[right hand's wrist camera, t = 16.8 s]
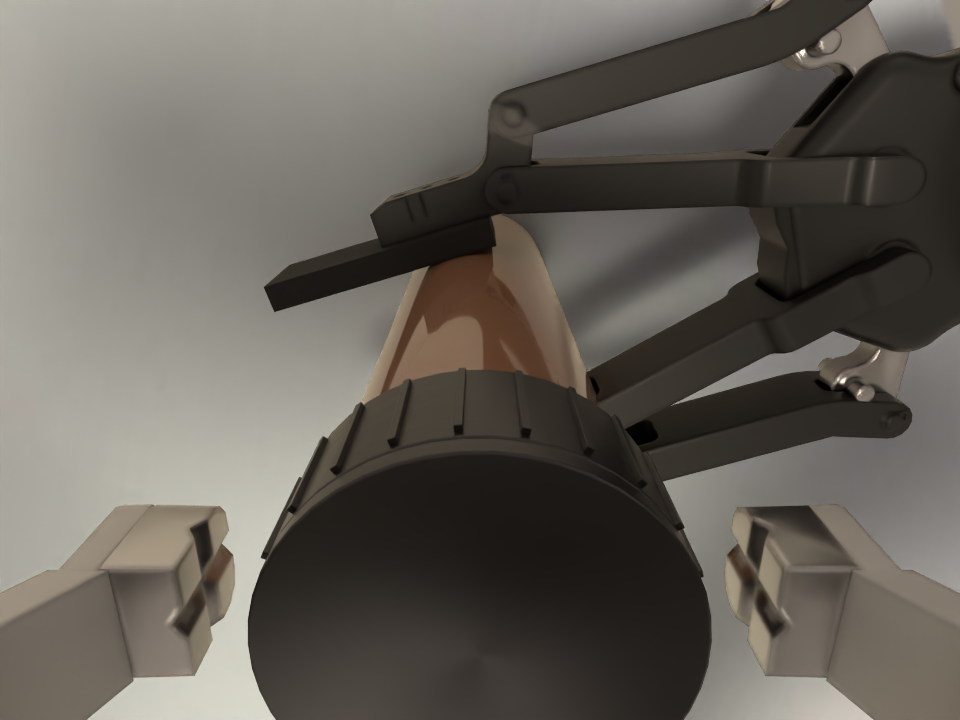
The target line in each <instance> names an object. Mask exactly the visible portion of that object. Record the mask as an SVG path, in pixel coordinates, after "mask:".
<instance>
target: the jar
mask: <svg viewBox="0 0 960 720" xmlns="http://www.w3.org/2000/svg"><path fill="white" fill-rule="evenodd" d="M491 218H492V222H493V225H494V228H495V237H496V245H497V246H496V247H492V248H489V249H486V250H482V251H479V252H475V253H472V254H469V255H465V256H462V257H459V258H454V259H452V260H448V261H445V262H442V263H438V264H435V265H431V266H428V267H425V268H421V269H418V270H415V271H413V274H412V276H411V279H410V281H409V284H408V286H407V289H406V291H405V294H404V296H403V299H402V301H401V304H400V306H399V309H398V311H397V314H396V316H395V319H394V321H393V324H392V326H391V329H390V331H389V334H388V336H387V339H386V341H385V344H384V346H383V349H382V351H381V354H380V356H379V359H378V361H377V364H376V366H375V369H374V371H373V374H372V376H371V379H370V381H369V384H368V386H367V389H366V391H365V394H364V396H363V399H362V401H361V402H362V403H363V405H364V404H365V403H367V402H368V401H370V400H372V399H373V398H375V397H377V396H379V395H381V394H382V393H384V392H386V391H388V390H390V389H392V388H394V387H397V386H399V385H402V383H403V381H404V380H406V379H409V378H410V379H411V381H412V380H415V379H419V378H423V377H426V376H430V375H434V374H438V373H445V372H453V371H458V368H466V370H498V371H507V372H515V370H519V371H523V374H525V375H529V376H533V377H537V378H541V379H545V380H547V381H550V382H553V383H555V384H558V385H560V386H563V387H566V388H568V387H569V386H571V387H573V388H575V389H576V392H577V394H579V395H581V396H583V397H585V398H587V399H588V400H590V401H591V402H593V403H594V404H595V405H597V406H598V407H600V408H601V406H600V403H599V401H598V398H597V396H596V393H595V390H594V388H593V385H592V383H591V380H590V378H589V375H588V373H587V370H586V368H585V365H584V363H583V360H582V358H581V355H580V353H579V350H578V347H577V345H576V342H575V340H574V337H573V335H572V332H571V330H570V327H569V325H568V322H567V320H566V317H565V315H564V312H563V309H562V307H561V304H560V302H559V299H558V297H557V294H556V292H555V289H554V287H553V284H552V282H551V279H550V277H549V274H548V272H547V269H546V266H545V264H544V261H543V259H542V256H541V254H540V251H539V249H538V247H537V245H536V243H535V241H534V240H533V238H532V237H531V235H530V234H529V233H528V232H527V231H526V230H525V229H524V228H523V227H522V226H521V225H520V224H518V223H517V222H515V221H514V220H512V219H510V218H508V217H506V216H504V215H501V214H498V215H495V216H492V217H491ZM601 409H602V408H601Z"/></svg>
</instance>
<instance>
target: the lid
mask: <svg viewBox="0 0 960 720" xmlns="http://www.w3.org/2000/svg"><path fill="white" fill-rule="evenodd" d="M683 528H684V525H683V523H682V521H681V519H680V517H679V515H678V513H677V511H676V508H675V506H674V504H673V502H672V500H671V498H670V496H669V494H668V492H667V490H666V488H665V486H664V483H663V481H662V479H661V477H660V475H659V473H658V471H657V469H656V467H655V465H654V463H653V461H652V458H651V456H650V455H649V453H648V452H647V451H646V452H644V453H642V452H641V450H640V448H639V447H638V445H637V444H636V443H635V442H634V440H633V439H632V438H631V437H630V435H629V434H628V433H627V431H626V430H625V429H624V428H623V426H622V424H621V421H620V419H619V417H617V416H616V415H615V414H614V415H612V416H610V415H609V414H608V413H607V412H605V411H604V410H602V409H601V408H600V407H598V406H597V405H595V404H594V403H593V402H591V401H590V400H588V399H587V398H585V397H583V396H581V395H579V394H577V392H576V389H575V388H573V387H571V386H569V387H568V388H566V387H563V386H560V385H558V384H555V383H553V382H550V381H547V380H545V379H541V378H537V377H533V376H529V375H525V374H523V371H519V370H515V372H507V371H498V370H466V368H458V371H453V372H445V373H438V374H434V375H430V376H426V377H423V378H419V379H415V380H412V381H411V379H410V378H409V379H406V380H404V381H403V383H402V385H399V386H397V387H394V388H392V389H390V390H388V391H386V392H384V393H382V394H381V395H379V396H377V397H375V398H373V399H372V400H370V401H368V402H367V403H365V404H364V405H363V403H362V402H360V403H359V404H358V405H356V406H355V409H354V411H353V413H352V414H351V415H349V416H348V417H347V418H346V419H345V420H344V421H343V422H342V423H341V424H340V425H339V426H338V427H337V428H336V429H335V430H334V431H333V432H332V433H331V435H330V436H329V437H328V439H327V438H325V437H324V436H323V437H322V438H321V440H320V441H319V443H318V445H317V447H316V449H315V451H314V453H313V456H312V458H311V460H310V462H309V464H308V466H307V468H306V470H305V472H304V474H303V477H302V478H301V477H299V478H298V480H297V483H296V485H295V487H294V489H293V491H292V493H291V495H290V497H289V499H288V501H287V503H286V505H285V507H284V509H283V511H282V513H281V515H280V518H279V520H278V522H277V524H276V526H275V528H274V530H273V532H272V534H271V536H270V538H269V540H268V542H267V544H266V546H265V548H264V550H263V553H262V556H261V558H262V559H265V560H266V561H265V563H264V565H263V567H262V569H261V571H260V574H259V577H258V580H257V583H256V586H255V588H254V591H253V594H252V599H251V605H250V611H249V616H248V647H249V653H250V659H251V665H252V670H253V673H254V676H255V679H256V682H257V684H258V687H259V690H260V693H261V694H262V696H263V698H264V700H265V702H266V704H267V706H268V708H269V710H270V712H271V713H272V715H273V716H274V718H275V719H276V720H684V718H685V717H686V716H687V714H688V713H689V711H690V710H691V708H692V706H693V704H694V702H695V700H696V698H697V696H698V693H699V691H700V689H701V687H702V684H703V680H704V677H705V674H706V671H707V668H708V663H709V656H710V649H711V642H712V633H711V613H710V608H709V603H708V598H707V593H706V590H705V587H704V585H703V582H702V579H701V577H703V571H702V569H701V567H700V565H699V563H698V560H697V558H696V556H695V554H694V552H693V550H692V548H691V546H690V544H689V541H688V539H687V537H686V535H685V533H684V531H683Z"/></svg>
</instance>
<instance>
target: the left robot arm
mask: <svg viewBox="0 0 960 720" xmlns="http://www.w3.org/2000/svg"><path fill="white" fill-rule="evenodd" d="M871 1H872V0H769V1H768V2H766V3H765V4H764V5H762V6H761V7H760V8H758V9H757V10H755V11H754V12H753V13H751V14H750V15H749V16H747V17H746V18H744V19H741V20H737V21H734V22H731V23H727V24H724V25H721V26H718V27H714V28H711V29H708V30H704V31H701V32H698V33H694V34H691V35H688V36H685V37H681V38H678V39H675V40H671V41H668V42H665V43H661V44H658V45H655V46H652V47H648V48H645V49H642V50H638V51H635V52H632V53H628V54H625V55H622V56H619V57H615V58H612V59H609V60H605V61H602V62H599V63H595V64H592V65H589V66H586V67H582V68H579V69H576V70H572V71H569V72H566V73H562V74H559V75H556V76H553V77H549V78H546V79H543V80H539V81H536V82H533V83H530V84H526V85H523V86H520V87H516V88H513V89H510V90H506V91H504V92H502V93H500V94H498V95H497V96H496V97H495V98H494V99H493V100H492V102H491V104H490V107H489V110H488V127H487V144H486V151H485V155H484V157H483V160H482V161H481V162H480V164H479V165H478V166H477V167H476V168H474V169H473V170H471V171H469V172H467V173H464V174H460V175H457V176H454V177H451V178H447V179H444V180H441V181H438V182H435V183H431V184H428V185H425V186H422V187H418V188H415V189H412V190H409V191H405V192H402V193H399V194H396V195H392V196H390V197H389V198H388V199H387V200H386V201H384V202H383V203H382V204H381V205H380V206H379V207H377V208H376V209H375V210H374V211H373V212H372V213H371V215H370V216H371V219H372V222H373V225H374V227H375V230H376V233H377V236H378V238H377V239H374V240H371V241H367V242H364V243H361V244H357V245H354V246H351V247H348V248H344V249H341V250H338V251H334V252H331V253H328V254H324V255H321V256H318V257H314V258H311V259H308V260H305V261H301V262H298V263H295V264H291V265H289V266H288V267H287V268H286V269H284V270H283V271H282V272H281V273H280V274H279V275H277V276H276V277H275V278H274V279H273V280H272V281H270V282H269V283H268V284H267V285H266V286H265V287H264V289H265V291H266V293H267V296H268V298H269V300H270V303H271V305H272V307H273V310H274V312H276V311H279V310H283V309H286V308H289V307H293V306H296V305H300V304H303V303H306V302H310V301H313V300H317V299H320V298H323V297H327V296H330V295H333V294H337V293H340V292H344V291H347V290H350V289H354V288H357V287H360V286H364V285H367V284H371V283H374V282H377V281H381V280H384V279H388V278H391V277H394V276H398V275H401V274H404V273H408V272H411V271H415V270H418V269H421V268H425V267H428V266H431V265H435V264H438V263H442V262H445V261H448V260H452V259H454V258H459V257H462V256H465V255H469V254H472V253H475V252H479V251H482V250H486V249H489V248H492V247H496V246H497V245H496V237H495V228H494V225H493V222H492V218H491V217H492V216H495V215H498V214H502V213H504V214H523V213H551V212H578V211H606V210H634V209H661V208H689V207H716V206H744V207H749V213H750V215H751V218H752V220H753V222H754V224H755V226H756V228H757V230H758V233H759V235H760V244H759V252H758V260H757V265H758V272H757V273H756V274H754V275H752V276H750V277H748V278H746V279H745V280H743V281H741V282H739V283H737V284H736V285H734V286H733V287H732V288H731V289H730V290H729V292H728V294H727V295H726V296H725V297H724V298H722V299H721V300H719V301H717V302H715V303H713V304H712V305H710V306H708V307H706V308H704V309H702V310H701V311H699V312H697V313H695V314H693V315H691V316H690V317H688V318H686V319H684V320H682V321H680V322H678V323H677V324H675V325H673V326H671V327H669V328H667V329H666V330H664V331H662V332H660V333H658V334H656V335H655V336H653V337H651V338H649V339H647V340H645V341H644V342H642V343H640V344H638V345H636V346H634V347H632V348H631V349H629V350H627V351H625V352H623V353H621V354H620V355H618V356H616V357H614V358H612V359H610V360H609V361H607V362H605V363H603V364H601V365H599V366H598V367H596V368H594V369H592V370H590V371H588V372H587V373H588V375H589V378H590V380H591V383H592V385H593V388H594V390H595V393H596V396H597V398H598V401H599V403H600V406H601V408H602V410H604V411H605V412H607V413H608V414H609V415H610V416H612V415H614V414H615V415H616V416H617V417H619V419H620V421H621V424H622V426H623V428H624V429H625V430H626V431H627V433H628V434H629V435H630V437H631V438H632V439H633V440H634V442H635V443H636V444H637V445H638V447H639V448H640V450H641V452H642V453H644V452H646V451H647V452H648V453H649V455H650V456H651V458H652V461H653V463H654V465H655V467H656V469H657V471H658V473H659V475H660V477H661V479H662V481H666V480H670V479H674V478H677V477H681V476H685V475H689V474H692V473H696V472H700V471H704V470H708V469H711V468H715V467H719V466H723V465H726V464H730V463H734V462H738V461H741V460H745V459H749V458H753V457H757V456H760V455H764V454H768V453H772V452H775V451H779V450H783V449H787V448H790V447H794V446H798V445H802V444H805V443H809V442H813V441H817V440H821V439H824V438H828V437H832V436H838V437H863V438H894V437H896V436H899V435H901V434H902V433H903V432H905V431H906V430H907V429H908V427H909V425H910V424H911V422H912V413H911V411H910V408H908V407H907V406H906V405H905V404H903V403H902V402H900V401H899V400H898V399H896V398H897V393H898V390H899V386H900V383H901V380H902V376H903V373H904V369H905V366H906V362H907V359H908V356H909V352H910V351H914V350H918V349H920V348H923V347H925V346H927V345H928V344H930V343H932V342H933V341H934V340H935V339H937V338H938V337H939V336H940V335H942V334H943V333H945V332H946V331H947V330H949V329H951V328H952V327H954V326H956V325H958V324H960V48H957V49H954V50H951V51H947V52H944V53H941V54H937V55H934V56H924V55H920V54H916V53H913V52H908V51H893V52H890V51H889V49H888V47H887V45H886V43H885V41H884V38H883V36H882V34H881V32H880V30H879V27H878V25H877V23H876V21H875V19H874V16H873V14H872V12H871V10H870V8H869V6H868V4H869V3H870V2H871ZM777 61H781V62H782V64H783V65H784V66H785V67H787V68H788V69H790V70H794V71H800V70H811V69H818V68H821V67H823V66H827V67H829V68H830V69H832V70H833V71H834V73H835V74H836V75H837V76H836V77H835V78H834V79H833V80H832V81H831V82H830V84H829V85H828V86H827V87H826V88H825V89H824V90H823V91H822V93H821V94H820V95H819V96H818V97H817V98H816V99H815V101H814V102H813V103H812V104H811V105H810V106H809V107H808V109H807V110H806V111H805V112H804V113H803V114H802V115H801V117H800V118H799V119H798V120H797V121H796V122H795V123H794V124H793V126H792V127H791V128H790V129H789V130H788V131H787V132H786V134H785V135H784V136H783V137H782V138H781V139H780V140H779V142H778V143H777V144H776V145H775V146H774V147H773V148H772V149H760V150H733V151H717V152H712V153H689V154H662V155H635V156H609V157H582V158H555V159H531V154H532V142H533V134H536V133H539V132H543V131H546V130H549V129H553V128H556V127H560V126H563V125H566V124H570V123H573V122H577V121H580V120H583V119H587V118H590V117H594V116H597V115H600V114H604V113H607V112H610V111H614V110H617V109H621V108H624V107H627V106H631V105H634V104H638V103H641V102H644V101H648V100H651V99H654V98H658V97H661V96H665V95H668V94H671V93H675V92H678V91H682V90H685V89H688V88H692V87H695V86H698V85H702V84H705V83H709V82H712V81H715V80H719V79H722V78H726V77H729V76H732V75H736V74H739V73H742V72H746V71H749V70H753V69H756V68H759V67H763V66H766V65H769V64H772V63H774V62H777ZM832 331H835V332H837V333H840V334H843V335H846V336H849V337H851V338H854V339H857V340H860V341H861V343H860V345H859V346H858V348H857V349H856V350H855V351H853V352H852V353H850V354H848V355H846V356H842V357H837V358H826V359H823V360H822V361H821V362H820V364H819V371H804V372H796V373H789V374H785V375H781V376H776V377H773V378H769V379H766V380H762V381H758V382H755V383H751V384H748V385H744V386H740V387H737V388H733V389H730V390H726V391H722V392H719V393H715V394H712V395H708V396H704V397H701V398H697V399H694V400H690V401H686V402H683V403H679V404H676V405H672V404H674V403H676V402H678V401H680V400H682V399H684V398H686V397H688V396H690V395H692V394H694V393H696V392H697V391H699V390H701V389H703V388H705V387H707V386H709V385H711V384H713V383H715V382H717V381H719V380H721V379H722V378H724V377H726V376H728V375H730V374H732V373H734V372H736V371H738V370H740V369H742V368H744V367H746V366H748V365H749V364H751V363H753V362H755V361H757V360H759V359H761V358H763V357H765V356H767V355H769V354H773V353H788V352H792V351H795V350H797V349H799V348H801V347H803V346H805V345H807V344H809V343H811V342H813V341H815V340H817V339H819V338H821V337H823V336H825V335H826V334H828V333H830V332H832ZM670 405H672V406H670Z"/></svg>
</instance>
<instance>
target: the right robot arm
mask: <svg viewBox="0 0 960 720" xmlns="http://www.w3.org/2000/svg"><path fill="white" fill-rule="evenodd" d="M228 531H229V528H228V523H227V518H226V513H225V511H224V510H223V509H222V508H221V507H220V506H187V505H122V506H118V507H116V508H115V509H114V510H113V511H112V512H111V513H110V514H109V515H108V517H107V518H106V519H105V520H104V521H103V522H102V523H101V524H100V525H99V526H98V527H97V529H96V530H95V531H94V532H93V533H92V534H91V535H90V536H89V537H88V538H87V540H86V541H85V542H84V543H83V544H82V545H81V546H80V547H79V548H78V549H77V551H76V552H75V553H74V554H73V555H72V556H71V557H70V558H69V559H68V560H67V561H66V563H65V564H64V565H63V566H62V567H61V568H60V569H59V570H47V571H45V572H43V573H41V574H39V575H37V576H35V577H33V578H31V579H29V580H27V581H24V582H22V583H20V584H18V585H16V586H14V587H12V588H10V589H8V590H6V591H4V592H2V593H0V720H87V719H88V718H89V717H90V716H91V715H93V714H94V713H95V712H96V711H97V710H99V709H100V708H101V707H102V706H104V705H105V704H106V703H107V702H108V701H110V700H111V699H112V698H113V697H114V696H116V695H117V694H118V693H119V692H120V691H122V690H123V689H124V688H125V687H127V686H128V685H129V684H130V683H131V682H133V678H135V677H170V676H195V674H196V672H197V670H198V668H199V666H200V664H201V662H202V660H203V658H204V656H205V654H206V652H207V650H208V648H209V646H210V644H211V642H212V634H211V628H210V627H211V626H212V625H214V624H215V623H217V622H218V621H220V620H221V619H222V618H224V616H225V614H226V612H227V610H228V607H229V605H230V603H231V599H232V594H233V590H234V585H235V566H234V559H233V554H232V553H231V552H230V551H229V550H228V549H227V548H226V547H225V546H224V545H223V544H222V542H223V540H224V538H225V537H226V535H227V533H228ZM731 531H732V533H733V535H734V537H735V538H736V540H737V542H738V544H737V545H736V546H735V547H734V548H733V549H732V550H731V551H730V552H729V553H728V554H727V559H726V567H725V582H726V592H727V596H728V599H729V603H730V606H731V608H732V610H733V612H734V614H735V616H736V618H737V619H739V620H740V621H742V622H743V623H745V624H746V625H748V626H749V627H750V628H749V633H748V639H747V640H748V642H749V644H750V646H751V648H752V650H753V652H754V654H755V656H756V658H757V660H758V662H759V664H760V666H761V668H762V670H763V672H764V674H765V676H789V677H825V678H827V679H826V681H828V682H829V683H830V684H831V685H832V686H834V687H835V688H836V689H837V690H839V691H840V692H841V693H842V694H843V695H845V696H846V697H847V698H848V699H849V700H851V701H852V702H853V703H854V704H855V705H857V706H858V707H859V708H860V709H861V710H863V711H864V712H865V713H866V714H867V715H869V716H870V717H871V718H872V719H874V720H960V593H958V592H956V591H954V590H952V589H950V588H948V587H946V586H944V585H942V584H940V583H937V582H935V581H933V580H931V579H929V578H927V577H925V576H923V575H921V574H919V573H917V572H915V571H913V570H901V569H900V568H899V567H898V566H897V565H896V564H895V563H894V562H893V561H892V559H891V558H890V557H889V556H888V555H887V554H886V553H885V552H884V551H883V550H882V548H881V547H880V546H879V545H878V544H877V543H876V542H875V541H874V540H873V539H872V537H871V536H870V535H869V534H868V533H867V532H866V531H865V530H864V529H863V528H862V526H861V525H860V524H859V523H858V522H857V521H856V520H855V519H854V518H853V517H852V515H851V514H850V513H849V512H848V511H847V510H846V509H845V508H844V507H841V506H839V505H837V504H829V505H804V506H771V507H737V509H736V512H735V514H734V516H733V521H732V527H731Z"/></svg>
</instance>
